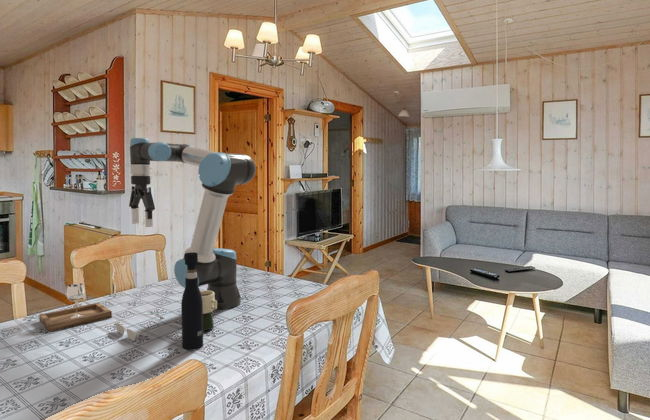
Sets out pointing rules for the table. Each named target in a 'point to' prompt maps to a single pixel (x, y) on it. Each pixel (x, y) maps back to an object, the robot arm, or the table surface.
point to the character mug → (208, 308)
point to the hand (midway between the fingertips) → (142, 225)
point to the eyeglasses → (131, 333)
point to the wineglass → (75, 295)
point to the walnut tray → (63, 319)
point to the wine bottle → (192, 307)
